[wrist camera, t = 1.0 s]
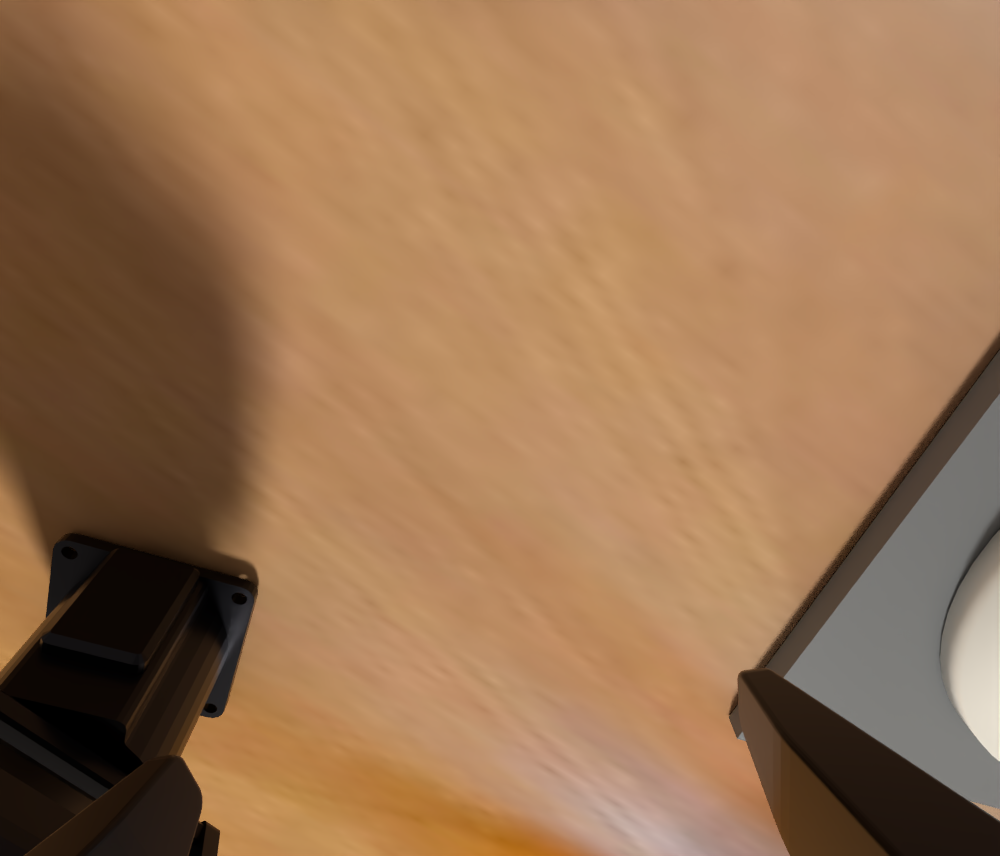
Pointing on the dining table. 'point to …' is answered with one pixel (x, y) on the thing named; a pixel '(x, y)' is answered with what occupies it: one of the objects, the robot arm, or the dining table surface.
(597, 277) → the dining table surface
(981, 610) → the dial
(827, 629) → the dial plate
